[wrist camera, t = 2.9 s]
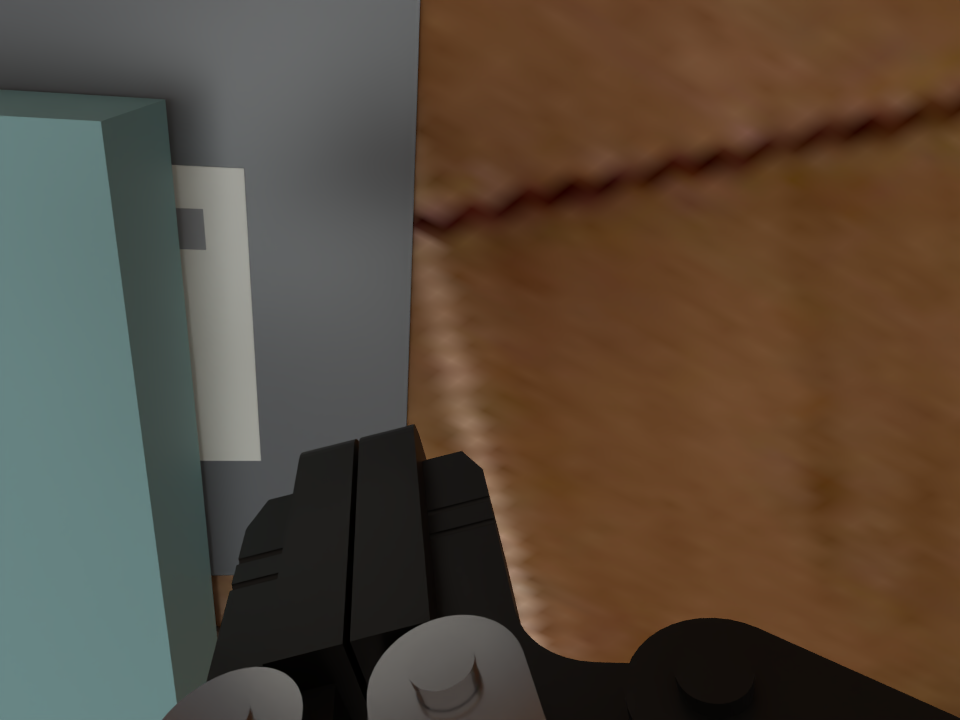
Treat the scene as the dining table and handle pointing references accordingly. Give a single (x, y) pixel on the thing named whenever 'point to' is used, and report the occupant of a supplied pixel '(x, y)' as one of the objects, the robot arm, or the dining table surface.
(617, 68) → the dining table surface
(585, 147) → the dining table surface
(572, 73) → the dining table surface
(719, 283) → the dining table surface
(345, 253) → the label panel
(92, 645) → the block
